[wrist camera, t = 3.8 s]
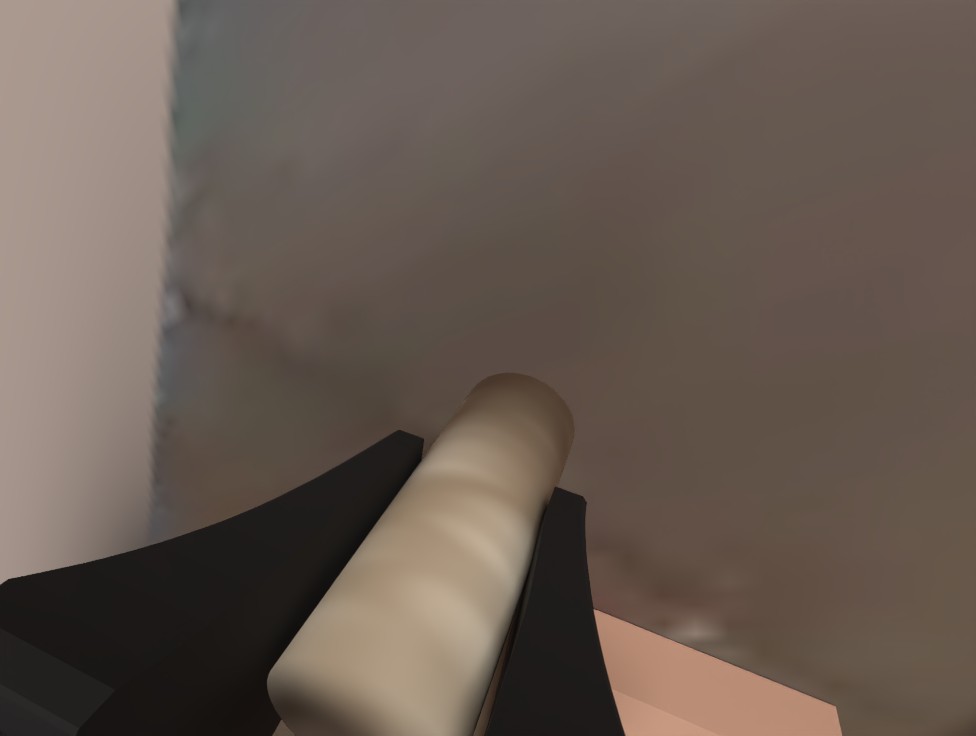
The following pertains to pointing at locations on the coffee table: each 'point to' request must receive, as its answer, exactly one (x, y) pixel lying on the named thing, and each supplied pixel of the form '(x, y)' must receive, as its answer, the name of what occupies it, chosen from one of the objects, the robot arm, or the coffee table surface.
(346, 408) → the coffee table surface
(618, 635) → the socket block
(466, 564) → the peg
